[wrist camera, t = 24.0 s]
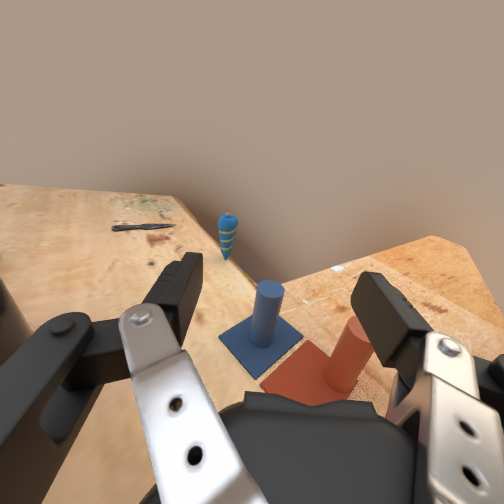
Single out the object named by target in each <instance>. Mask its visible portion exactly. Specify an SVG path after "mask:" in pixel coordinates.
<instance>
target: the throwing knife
mask: <svg viewBox="0 0 504 504" xmlns="http://www.w3.org/2000/svg"><path fill="white" fill-rule="evenodd" d="M173 225H175V224H142V225H129V226H125V225H115V226H113V227H112V230H113V231H121V230H128V229H153V228H160V227H167V226H173ZM118 227H119V228H118ZM115 228H118V229H115Z"/></svg>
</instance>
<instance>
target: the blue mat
mask: <svg viewBox="0 0 504 504" xmlns="http://www.w3.org/2000/svg"><path fill="white" fill-rule="evenodd" d="M252 316H253V315H252ZM252 316H250V317H248V318H247V319H245V320H244V321H242V322H240V323H239V324H237V325H235V326H234V327H232V328H231V329H229V330H227V331H226V332H224V333H223V334H221V335H219V339H220V340H221V341H222V342H223V343H224V344H225V345H226V347H227V348H228V349H229V350H230V351H231V352H232V354H233V355H234V356H235V357H236V358H237V359H238V361H239V362H240V363H241V364H242V365H243V366H244V367H245V369H246V370H247V371H248V372H249V373H250V374H251V376H252V377H253V378H254V379H255V380H256V379H257V378H258V377H259V376H260V375H261V374H262V373H264V372H265V371H266V370H267V369H268V368H269V367H270V366H271V365H273V364H274V363H275V362H276V361H277V360H278V359H279V358H280V357H282V356H283V355H284V354H285V353H286V352H287V351H288V350H289V349H291V348H292V347H293V346H294V345H295V344H296V343H297V342H298V341H300V340H301V339H302V338H303V335H302V334H301V333H299V332H298V331H297V330H296V329H295V328H293V327H292V326H291V325H290V324H288V323H287V322H286V321H285V320H284V319H282V318H281V317H280V316H278V320H277V324H276V329H275V333H274V337H273V341H272V343H271V345H270V346H268V347H266V348H259V347H256V346H254V345H253V344H252V343H251V341H250V338H249V335H250V329H251V322H252Z"/></svg>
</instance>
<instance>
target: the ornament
mask: <svg viewBox="0 0 504 504" xmlns="http://www.w3.org/2000/svg"><path fill="white" fill-rule="evenodd" d="M237 224H238V220H237V218H236V217H235V216H233V215H230V213H229V212H228V213H226V214H225V215H222V216H221V218H220V220H219V222H218V228H219V237H220V239H221V240H220V245H221V252H222V254H223V256H224V259H225V260H226V259H227V258H228V256H229V254H230V252H231V250H232V244H233V241H234V235H235V233H236V227H237Z"/></svg>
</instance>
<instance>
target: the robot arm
mask: <svg viewBox="0 0 504 504" xmlns="http://www.w3.org/2000/svg"><path fill="white" fill-rule="evenodd" d="M202 283H203V255H202V253H194V252H186V253H185V255H184V257H183V258H182V260H181V261H173V262H171V263H170V264H168V265H167V266H166V267H165V268H164V270H163V271H162V273H161V275H160V276H159V277H158V279H157V281H156V282H155V284H154V285H153V287H152V288H151V290H150V291H149V293H148V294H147V296H146V297H145V299H144V300H143V302H142V303H141V304H139V305H135V306H133V307H131V308H129V309H128V310H126V311H125V312H124V313H123V314H122V315H121V317H120V318H116V319H111V320H104V321H97V322H91V320H90V317H89V316H88V315H87V314H85V313H81V312H71V313H66V314H62V315H59V316H57V317H54V318H52V319H50V320H49V321H47V322H46V323H44V324H43V325H42V326H41V327H39V328H38V329H37V330H36V331H35V332H34V333H33V332H32V330H31V328H30V326H29V325H28V323H27V321H26V320H25V318H24V316H23V315H22V313H21V311H20V310H19V308H18V306H17V305H16V303H15V301H14V299H13V298H12V296H11V294H10V293H9V291H8V289H7V288H6V286H5V284H4V283H3V281H2V279H1V278H0V504H41V503H42V501H43V500H44V498H45V496H46V494H47V492H48V490H49V488H50V486H51V484H52V483H53V481H54V479H55V477H56V475H57V473H58V471H59V469H60V467H61V466H62V464H63V462H64V460H65V458H66V456H67V454H68V452H69V450H70V449H71V447H72V445H73V443H74V441H75V439H76V437H77V435H78V433H79V432H80V430H81V428H82V426H83V424H84V422H85V420H86V418H87V416H88V415H89V413H90V411H91V409H92V407H93V405H94V403H95V401H96V399H97V398H98V396H99V394H100V392H101V390H102V388H103V386H104V384H106V383H110V382H115V381H119V380H123V379H127V378H131V382H132V386H133V390H134V394H135V398H136V402H137V406H138V410H139V414H140V418H141V423H142V427H143V431H144V435H145V439H146V443H147V447H148V451H149V455H150V459H151V463H152V467H153V471H154V476H155V480H156V484H155V485H154V486H153V487H152V488H151V490H150V491H149V492H148V493H147V494H146V496H145V497H144V498H143V499H142V500H141V502H140V503H139V504H504V354H501V355H499V356H498V357H497V358H496V359H495V360H493V361H492V362H491V361H488V360H485V359H482V358H479V357H476V356H473V355H472V354H471V353H470V351H469V350H468V349H467V348H466V347H465V346H464V345H463V344H461V343H460V342H459V341H457V340H456V339H454V338H452V337H451V336H449V335H446V334H444V333H441V332H435V331H434V330H433V329H432V328H431V327H430V325H429V324H428V323H427V322H426V321H425V320H424V318H423V317H422V316H421V315H420V314H419V313H418V311H417V310H416V309H415V308H413V306H412V304H411V303H410V302H409V301H407V299H406V297H405V296H404V295H403V294H402V293H401V292H400V291H399V290H398V289H396V288H395V287H394V286H392V285H391V284H390V283H389V282H388V281H387V280H386V278H385V277H384V276H383V275H382V274H381V273H375V272H366V271H364V272H362V273H361V275H360V277H359V279H358V281H357V284H356V286H355V288H354V290H353V293H352V295H351V306H352V308H353V310H354V312H355V314H356V316H357V318H358V320H359V322H360V324H361V326H362V328H363V329H364V331H365V333H366V335H367V337H368V339H369V341H370V343H371V345H372V347H373V349H374V351H375V353H376V355H377V357H378V358H379V360H380V362H381V364H382V366H383V367H388V368H396V369H397V371H398V372H397V374H396V375H395V376H394V380H393V385H392V390H391V394H390V399H389V404H388V409H387V413H386V416H385V418H384V417H382V416H380V415H377V413H376V411H375V408H374V406H373V403H372V402H366V401H355V400H343V399H341V400H336V401H332V402H328V403H324V404H319V405H315V406H309V405H306V404H303V403H300V402H298V401H295V400H292V399H289V398H287V397H284V396H281V395H279V394H273V393H261V392H250V391H245V394H244V400H243V401H242V402H238V403H235V404H232V405H230V406H228V407H226V408H224V409H222V410H221V411H219V412H217V410H216V408H215V406H214V404H213V402H212V400H211V398H210V396H209V394H208V392H207V390H206V388H205V386H204V384H203V382H202V380H201V378H200V376H199V374H198V372H197V370H196V368H195V366H194V363H193V361H192V359H191V357H190V356H189V354H188V352H187V351H186V350H185V349H184V350H182V349H181V348H182V345H183V342H184V339H185V336H186V333H187V330H188V327H189V324H190V321H191V319H192V316H193V313H194V310H195V307H196V304H197V301H198V298H199V295H200V292H201V289H202Z"/></svg>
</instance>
